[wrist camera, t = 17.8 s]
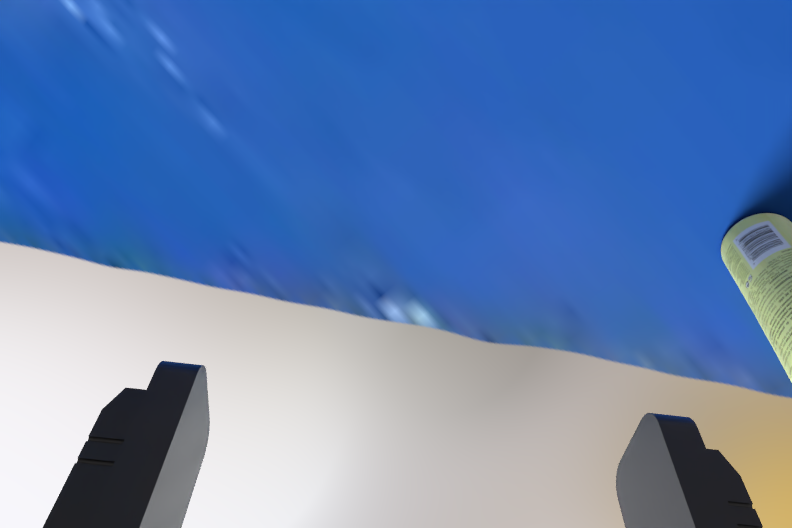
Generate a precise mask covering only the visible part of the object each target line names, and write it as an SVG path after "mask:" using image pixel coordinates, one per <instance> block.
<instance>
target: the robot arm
mask: <svg viewBox="0 0 792 528" xmlns="http://www.w3.org/2000/svg"><path fill="white" fill-rule="evenodd" d="M209 423H210V421H209V406H208V391H207V377H206V369H205V366H203V365H194V364H184V363H175V362H167V361H162V362H160V363H159V365H158V366H157V368H156V370H155V372H154V375H153V377H152V379H151V381H150V384H149V386H148V388H147V390H142V389H133V388H125V389H124V390H123V391H122V392H121V393H120V394H118V395H117V396H116V397H115V398H114V399H113V400H112V401H111V402H110V403H109V404H108V405H107V406H105V407H104V408H103V409H102V411H101V413H100V415H99V417H98V419H97V421H96V423H95V425H94V427H93V429H92V431H91V433H90V435H89V439H88V441H86V443H85V445H84V447H83V449H82V451H81V453H80V455H79V456H78V461H77V463H76V464H75V465H74V466H73V468H72V470H71V473H70V474H69V476H68V478H67V480H66V482H65V484H64V486H63V488H62V490H61V492H60V494H59V496H58V498H57V501H56V503H55V504H54V507H53V508H52V510H51V512H50V514H49V516H48V518H47V520H46V522H45V524H44V526H43V528H181V527H182V523H183V520H184V517H185V514H186V511H187V508H188V504H189V501H190V498H191V495H192V492H193V489H194V486H195V483H196V480H197V476H198V474H199V470H200V467H201V464H202V461H203V458H204V455H205V451H206V447H207V441H208V435H209ZM616 490H617V496H618V500H619V504H620V508H621V512H622V516H623V520H624V523H625V527H626V528H762V524H761V522H760V519H759V517H758V515H757V513H756V511H755V509H753V508H752V504H753V503H752V501H751V499H750V497H749V495H748V492H747V490H746V488H745V485H744V483H743V481H742V479H741V476H740V475H739V474H738V473H737V471H736V470H735V469H734V468H733V467H732V466H731V464H730V463H729V462H728V461H727V460H726V459H725V457H724V456H723V455H722V454H721V453H720V452H719V450H712V449H706V448H705V445H704V443H703V440H702V438H701V435H700V433H699V430H698V428H697V426H696V424H695V422H694V421H693V420H692V419H691V418H688V417H680V416H671V415H662V414H653V413H647V414H646V415H645V416H644V417H643V418H642V420H641V422H640V423H639V425H638V427H637V430H636V431H635V433H634V435H633V437H632V439H631V441H630V443H629V445H628V447H627V449H626V451H625V453H624V455H623V457H622V459H621V461H620V463H619V466H618V469H617V476H616Z"/></svg>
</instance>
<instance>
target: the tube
mask: <svg viewBox="0 0 792 528" xmlns="http://www.w3.org/2000/svg"><path fill="white" fill-rule="evenodd" d="M721 256H722V259H723V261H724V263H725V265H726V267H727V268H728V270H729V272H730V273H731V275H732V277H733V278H734V280H735V282H736V284H737V285H738V287H739V289H740V290H741V292H742V294H743V296H744V297H745V299H746V301H747V302H748V304H749V306H750V307H751V309H752V311H753V313H754V315H755V316H756V318H757V320H758V322H759V324H760V325H761V327H762V329H763V331H764V333H765V334H766V336H767V338H768V340H769V342H770V343H771V345H772V347H773V349H774V351H775V353H776V354H777V356H778V358H779V360H780V362H781V364H782V366H783V367H784V369H785V371H786V373H787V375H788V377H789V379H790V380H791V382H792V222H791V221H789V220H788V219H787V218H785V217H783V216H781V215H778V214H773V213H760V214H756V215H752V216H749V217H747V218H745V219H743V220H741V221H739V222H738V223H737V224H735V225H734V226H733V227H732V228H731V229H730V230H729V231H728V233H727V234H726V236H725V237H724V239H723V242H722V245H721Z"/></svg>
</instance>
